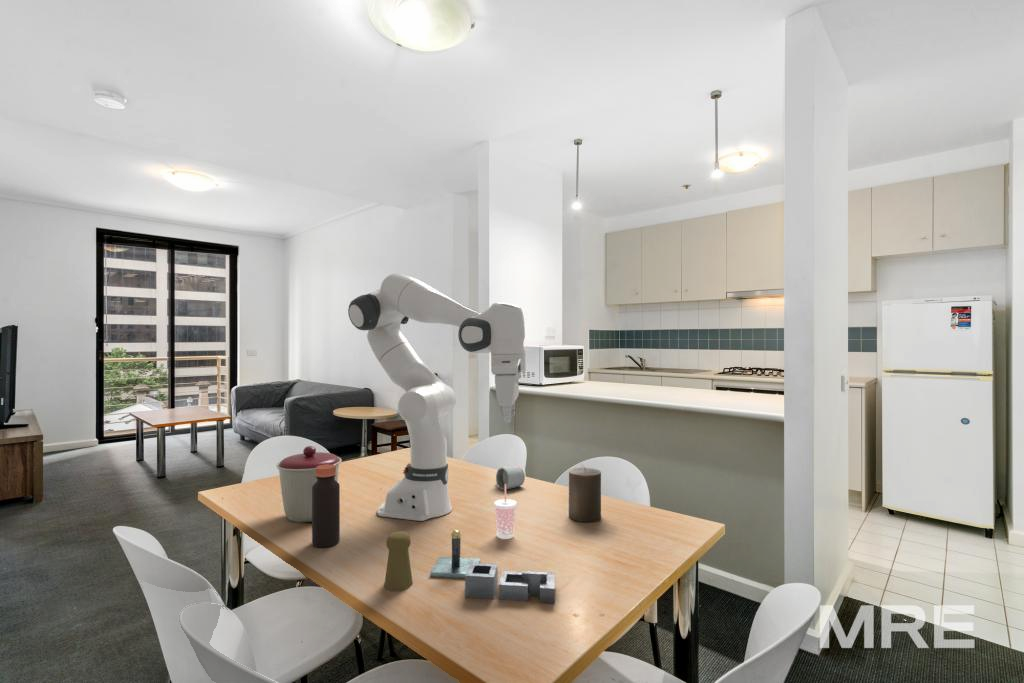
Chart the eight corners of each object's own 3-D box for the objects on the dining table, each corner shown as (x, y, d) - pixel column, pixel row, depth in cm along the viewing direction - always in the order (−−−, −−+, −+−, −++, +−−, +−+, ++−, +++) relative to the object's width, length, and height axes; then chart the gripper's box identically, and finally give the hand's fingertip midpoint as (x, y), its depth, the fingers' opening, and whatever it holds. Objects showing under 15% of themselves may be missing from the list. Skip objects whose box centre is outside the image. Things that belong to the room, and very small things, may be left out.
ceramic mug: (526, 487, 179) (526, 466, 179) (508, 492, 174) (508, 470, 174) (508, 481, 188) (507, 461, 188) (490, 485, 182) (490, 464, 182)
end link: (465, 597, 104) (465, 575, 104) (470, 583, 110) (470, 562, 110) (493, 598, 103) (493, 577, 103) (497, 584, 109) (497, 563, 109)
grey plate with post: (430, 576, 113) (430, 536, 112) (439, 560, 120) (439, 523, 120) (474, 578, 111) (474, 538, 111) (480, 562, 119) (480, 524, 119)
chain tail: (498, 600, 102) (498, 578, 102) (502, 583, 109) (502, 563, 109) (554, 603, 101) (554, 581, 101) (555, 586, 108) (555, 566, 108)
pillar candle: (600, 523, 145) (601, 471, 145) (566, 521, 147) (567, 469, 147) (601, 512, 154) (601, 464, 154) (569, 510, 156) (570, 462, 156)
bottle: (319, 550, 126) (319, 471, 126) (307, 543, 130) (307, 466, 130) (344, 542, 131) (344, 466, 131) (331, 535, 136) (331, 462, 135)
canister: (266, 517, 150) (266, 446, 150) (324, 502, 163) (324, 437, 163) (292, 533, 137) (292, 456, 137) (352, 516, 151) (352, 446, 150)
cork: (386, 577, 112) (386, 528, 112) (414, 576, 112) (414, 527, 112) (382, 591, 106) (382, 539, 106) (411, 590, 106) (411, 538, 106)
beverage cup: (512, 541, 132) (512, 488, 132) (490, 538, 134) (490, 486, 134) (519, 533, 138) (519, 482, 138) (499, 530, 140) (499, 480, 140)
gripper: (500, 363, 139) (501, 413, 139) (490, 367, 119) (492, 426, 119) (523, 363, 138) (524, 413, 138) (517, 367, 118) (518, 425, 118)
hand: (509, 419), depth 128 cm, fingers open, 8 cm apart
